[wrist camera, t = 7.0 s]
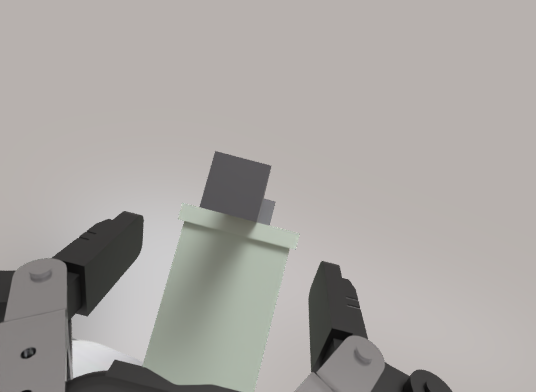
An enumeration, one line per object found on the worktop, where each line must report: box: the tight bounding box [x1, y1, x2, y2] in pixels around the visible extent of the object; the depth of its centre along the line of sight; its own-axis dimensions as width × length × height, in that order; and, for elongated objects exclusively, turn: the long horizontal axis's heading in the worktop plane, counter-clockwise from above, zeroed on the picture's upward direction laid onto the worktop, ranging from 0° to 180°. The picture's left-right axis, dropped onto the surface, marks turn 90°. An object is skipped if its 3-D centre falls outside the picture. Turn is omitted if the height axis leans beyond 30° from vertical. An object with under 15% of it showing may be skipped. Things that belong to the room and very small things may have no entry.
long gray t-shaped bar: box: [200, 152, 275, 225], centre depth 28 cm, size 26×6×3 cm, turn 2°
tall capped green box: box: [143, 203, 299, 392], centre depth 35 cm, size 21×11×32 cm, turn 2°
